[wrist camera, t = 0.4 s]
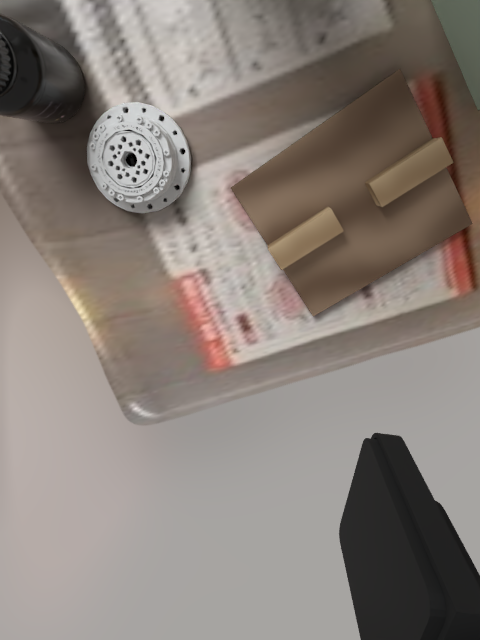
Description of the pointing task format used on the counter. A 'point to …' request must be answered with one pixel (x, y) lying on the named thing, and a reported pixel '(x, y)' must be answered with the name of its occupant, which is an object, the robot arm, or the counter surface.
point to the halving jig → (355, 196)
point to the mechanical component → (138, 157)
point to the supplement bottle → (36, 76)
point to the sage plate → (463, 38)
